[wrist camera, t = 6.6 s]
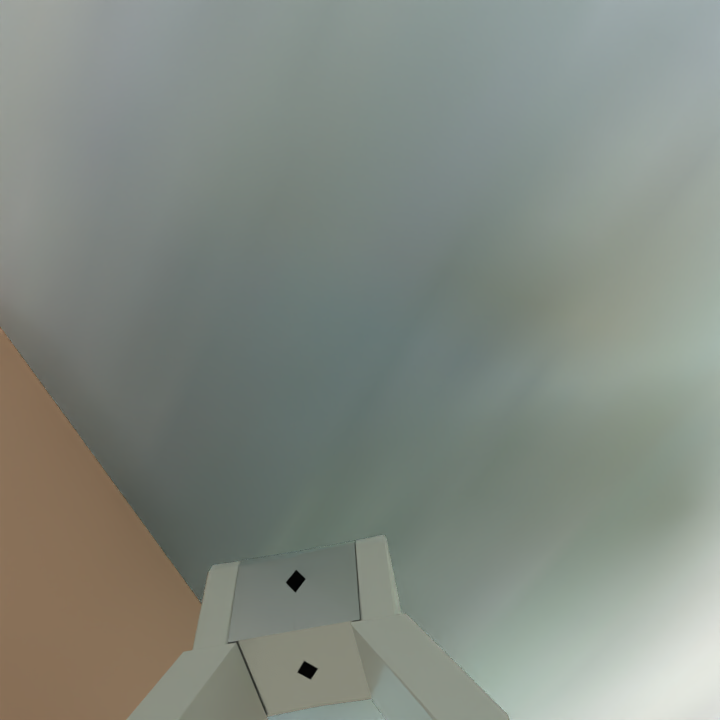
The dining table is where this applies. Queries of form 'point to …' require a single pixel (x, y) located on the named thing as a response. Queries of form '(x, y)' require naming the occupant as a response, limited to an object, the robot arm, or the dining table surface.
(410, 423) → the dining table surface
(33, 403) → the block
